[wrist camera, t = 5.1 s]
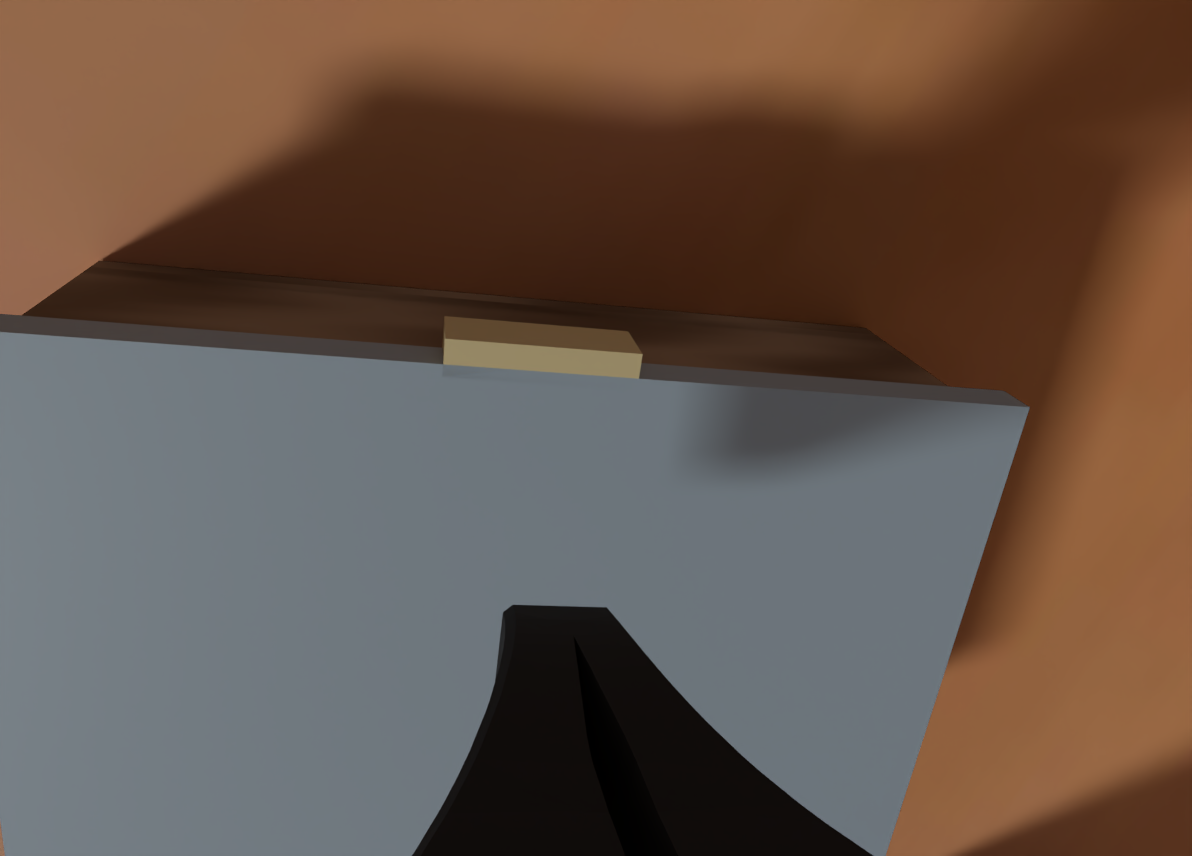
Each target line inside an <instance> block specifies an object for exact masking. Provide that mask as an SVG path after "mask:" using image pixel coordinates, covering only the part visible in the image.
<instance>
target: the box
mask: <svg viewBox="0 0 1192 856" xmlns="http://www.w3.org/2000/svg"><path fill="white" fill-rule="evenodd" d="M21 316H34V317H47V318H60V319H73V320H86V321H99V322H112V323H125V324H138V325H151V326H164V327H177V328H190V329H203V330H217V331H230V332H243V333H256V334H269V335H282V336H295V337H308V338H321V339H334V340H347V341H360V342H373V343H386V344H399V345H412V346H425V347H439V348H442V343H443V329H444V316H449V317H461V318H473V319H485V320H497V321H509V322H521V323H533V324H546V325H558V326H570V327H582V328H594V329H606V330H618V331H628V332H629V333H630V335H631V337H632V338H633V340H634V341H635V343H636V344H637V346H638V348H639V349H640V351H641V352H642V354H643V355H642V362H641V363H647V364H661V365H674V366H687V367H700V368H713V369H726V370H739V371H752V372H765V373H778V374H791V375H804V376H817V377H830V378H843V379H856V380H869V381H883V382H896V383H909V384H922V385H935V386H947V385H945V384H944V383H942V382H941V381H940V380H938V379H937V378H935V377H934V376H933V375H931V374H930V373H928V372H927V371H926V370H924V369H923V368H921V367H920V366H918V365H917V364H916V363H914V362H913V361H911V360H910V359H909V358H907V357H906V356H904V355H903V354H902V353H900V352H899V351H897V350H896V349H895V348H893V347H892V346H890V345H889V344H887V343H886V342H885V341H883V340H882V339H880V338H879V337H878V336H876V335H875V334H873V333H872V332H871V331H869V330H868V329H866V328H858V327H847V326H836V325H824V324H813V323H802V322H790V321H779V320H768V319H756V318H745V317H734V316H722V315H711V314H699V313H688V312H677V311H665V310H654V309H643V308H631V307H620V306H609V305H597V304H586V303H575V302H563V301H552V300H541V299H529V298H518V297H506V296H495V295H484V294H472V293H461V292H450V291H438V290H427V289H416V288H404V287H393V286H382V285H370V284H359V283H347V282H336V281H325V280H313V279H302V278H291V277H279V276H268V275H257V274H245V273H234V272H223V271H211V270H200V269H188V268H177V267H166V266H154V265H143V264H132V263H120V262H109V261H98V262H97V263H95V264H94V265H93V266H91V267H90V268H88V269H87V270H85V271H84V272H83V273H81V274H80V275H78V276H77V277H75V278H74V279H73V280H71V281H70V282H68V283H67V284H66V285H64V286H63V287H61V288H60V289H58V290H57V291H56V292H54V293H53V294H51V295H50V296H48V297H47V298H46V299H44V300H43V301H41V302H40V303H39V304H37V305H36V306H34V307H33V308H31V309H30V310H29V311H27V312H26V313H24V314H23V315H21Z"/></svg>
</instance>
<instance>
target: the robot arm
mask: <svg viewBox="0 0 1192 856" xmlns="http://www.w3.org/2000/svg"><path fill="white" fill-rule="evenodd" d="M412 856H873V855H872V854H870V853H869V852H867V851H866V850H864V849H863V848H862V847H860V846H859V845H857V844H856V843H854V842H853V841H851V840H850V839H848V838H847V837H845V836H844V835H843V834H841V833H840V832H838V831H837V830H835V829H834V828H832V827H831V826H829V825H828V824H826V823H825V822H824V821H822V820H821V819H820V818H818V817H817V816H816V815H814V814H813V813H812V812H810V811H809V810H808V809H806V808H805V807H804V806H802V805H801V804H800V803H798V802H797V801H796V800H795V799H793V798H792V797H791V796H790V795H789V794H787V793H786V792H785V791H784V790H782V789H781V788H780V787H779V786H777V785H776V784H775V783H774V782H773V781H771V780H770V779H769V778H768V777H766V776H765V775H764V774H763V773H761V772H760V771H759V770H758V769H757V768H756V767H755V766H753V765H752V764H751V763H750V762H749V761H748V760H747V759H745V758H744V757H743V756H742V755H741V754H740V753H739V752H738V751H737V750H736V749H735V748H734V747H733V746H732V745H731V744H729V743H728V742H727V741H726V740H725V739H724V738H723V737H722V736H721V735H720V734H719V733H718V732H717V731H716V730H715V729H714V728H713V727H712V726H711V725H710V724H709V723H708V722H707V721H706V720H705V719H704V718H703V717H702V716H701V715H700V714H699V713H698V712H697V711H696V710H695V709H694V708H693V707H692V706H691V705H690V704H689V703H688V701H687V700H686V699H685V698H684V697H683V696H682V695H681V694H680V693H679V692H678V690H677V689H676V688H675V687H674V686H673V685H672V684H671V683H670V682H669V681H668V679H667V678H666V677H665V676H664V675H663V674H662V673H661V671H660V670H659V669H658V668H657V667H656V666H655V664H654V663H653V662H652V661H651V660H650V658H649V657H648V656H647V655H646V654H645V652H644V651H643V650H642V649H641V648H640V646H639V645H638V644H637V643H636V642H635V640H634V639H633V638H632V637H631V636H630V634H629V633H628V632H627V631H626V630H625V628H624V627H623V626H622V625H621V624H620V622H619V621H618V620H617V619H616V618H615V616H614V615H613V614H612V613H611V612H610V611H609V609H608V608H607V607H577V606H542V605H512V606H510V607H509V608H508V609H506V610H505V611H504V612H503V616H502V625H501V633H500V642H499V651H498V660H497V669H496V678H495V684H494V687H493V691H492V694H491V697H490V701H489V704H488V706H487V709H486V712H485V714H484V717H483V719H482V722H481V724H480V727H479V729H478V732H477V734H476V737H475V739H474V742H473V744H472V746H471V749H470V751H469V753H468V756H467V758H466V760H465V762H464V764H463V766H462V768H461V770H460V773H459V775H458V777H457V779H456V781H455V783H454V784H453V786H452V788H451V790H450V792H449V794H448V796H447V798H446V799H445V801H444V803H443V805H442V807H441V809H440V810H439V812H438V814H437V815H436V817H435V819H434V820H433V822H432V824H431V825H430V827H429V829H428V830H427V832H426V834H425V835H424V837H423V839H422V840H421V842H420V844H419V845H418V847H417V848H416V850H415V852H414V853H413V855H412Z"/></svg>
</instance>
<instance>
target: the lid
mask: <svg viewBox="0 0 1192 856" xmlns="http://www.w3.org/2000/svg"><path fill="white" fill-rule="evenodd" d="M642 355H643V354H642V352H641V351H640V349H639V348H638V346H637V344H636V343H635V341H634V340H633V338H632V337H631V335H630V333H629V332H628V331H618V330H606V329H594V328H582V327H570V326H558V325H546V324H533V323H521V322H509V321H497V320H485V319H473V318H461V317H449V316H444V329H443V343H442V348H439V347H425V346H412V345H399V344H386V343H373V342H360V341H347V340H334V339H321V338H308V337H295V336H282V335H269V334H256V333H243V332H230V331H217V330H203V329H190V328H177V327H164V326H151V325H138V324H125V323H112V322H99V321H86V320H73V319H60V318H47V317H34V316H21V315H8V314H0V821H1V829H2V836H3V844H4V851H5V856H412V855H413V853H414V852H415V850H416V848H417V847H418V845H419V844H420V842H421V840H422V839H423V837H424V835H425V834H426V832H427V830H428V829H429V827H430V825H431V824H432V822H433V820H434V819H435V817H436V815H437V814H438V812H439V810H440V809H441V807H442V805H443V803H444V801H445V799H446V798H447V796H448V794H449V792H450V790H451V788H452V786H453V784H454V783H455V781H456V779H457V777H458V775H459V773H460V770H461V768H462V766H463V764H464V762H465V760H466V758H467V756H468V753H469V751H470V749H471V746H472V744H473V742H474V739H475V737H476V734H477V732H478V729H479V727H480V724H481V722H482V719H483V717H484V714H485V712H486V709H487V706H488V704H489V701H490V697H491V694H492V691H493V687H494V684H495V678H496V669H497V660H498V651H499V642H500V633H501V625H502V616H503V612H504V611H505V610H506V609H508V608H509V607H510V606H512V605H542V606H577V607H607V608H608V609H609V611H610V612H611V613H612V614H613V615H614V616H615V618H616V619H617V620H618V621H619V622H620V624H621V625H622V626H623V627H624V628H625V630H626V631H627V632H628V633H629V634H630V636H631V637H632V638H633V639H634V640H635V642H636V643H637V644H638V645H639V646H640V648H641V649H642V650H643V651H644V652H645V654H646V655H647V656H648V657H649V658H650V660H651V661H652V662H653V663H654V664H655V666H656V667H657V668H658V669H659V670H660V671H661V673H662V674H663V675H664V676H665V677H666V678H667V679H668V681H669V682H670V683H671V684H672V685H673V686H674V687H675V688H676V689H677V690H678V692H679V693H680V694H681V695H682V696H683V697H684V698H685V699H686V700H687V701H688V703H689V704H690V705H691V706H692V707H693V708H694V709H695V710H696V711H697V712H698V713H699V714H700V715H701V716H702V717H703V718H704V719H705V720H706V721H707V722H708V723H709V724H710V725H711V726H712V727H713V728H714V729H715V730H716V731H717V732H718V733H719V734H720V735H721V736H722V737H723V738H724V739H725V740H726V741H727V742H728V743H729V744H731V745H732V746H733V747H734V748H735V749H736V750H737V751H738V752H739V753H740V754H741V755H742V756H743V757H744V758H745V759H747V760H748V761H749V762H750V763H751V764H752V765H753V766H755V767H756V768H757V769H758V770H759V771H760V772H761V773H763V774H764V775H765V776H766V777H768V778H769V779H770V780H771V781H773V782H774V783H775V784H776V785H777V786H779V787H780V788H781V789H782V790H784V791H785V792H786V793H787V794H789V795H790V796H791V797H792V798H793V799H795V800H796V801H797V802H798V803H800V804H801V805H802V806H804V807H805V808H806V809H808V810H809V811H810V812H812V813H813V814H814V815H816V816H817V817H818V818H820V819H821V820H822V821H824V822H825V823H826V824H828V825H829V826H831V827H832V828H834V829H835V830H837V831H838V832H840V833H841V834H843V835H844V836H845V837H847V838H848V839H850V840H851V841H853V842H854V843H856V844H857V845H859V846H860V847H862V848H863V849H864V850H866V851H867V852H869V853H870V854H872V855H873V856H886V852H887V849H888V846H889V843H890V840H891V837H892V834H893V831H894V828H895V825H896V821H897V818H898V815H899V812H900V809H901V806H902V803H903V800H904V797H905V793H906V790H907V787H908V784H909V781H910V778H911V775H912V772H913V769H914V766H915V762H916V759H917V756H918V753H919V750H920V747H921V744H922V741H923V738H924V734H925V731H926V728H927V725H928V722H929V719H930V716H931V713H932V710H933V706H934V703H935V700H936V697H937V694H938V691H939V688H940V685H941V682H942V679H943V675H944V672H945V669H946V666H947V663H948V660H949V657H950V654H951V651H952V647H953V644H954V641H955V638H956V635H957V632H958V629H959V626H960V623H961V620H962V616H963V613H964V610H965V607H966V604H967V601H968V598H969V595H970V592H971V588H972V585H973V582H974V579H975V576H976V573H977V570H978V567H979V564H980V561H981V557H982V554H983V551H984V548H985V545H986V542H987V539H988V536H989V533H990V529H991V526H992V523H993V520H994V517H995V514H996V511H997V508H998V505H999V501H1000V498H1001V495H1002V492H1003V489H1004V486H1005V483H1006V480H1007V477H1008V474H1009V470H1010V467H1011V464H1012V461H1013V458H1014V455H1015V452H1016V449H1017V446H1018V442H1019V439H1020V436H1021V433H1022V430H1023V427H1024V424H1025V421H1026V418H1027V415H1028V411H1029V408H1030V407H1028V406H1027V405H1025V404H1024V403H1022V402H1021V401H1019V400H1018V399H1016V398H1014V397H1013V396H1011V395H1010V394H1008V393H1007V392H1005V391H1000V390H987V389H974V388H961V387H948V386H935V385H922V384H909V383H896V382H883V381H869V380H856V379H843V378H830V377H817V376H804V375H791V374H778V373H765V372H752V371H739V370H726V369H713V368H700V367H687V366H674V365H661V364H647V363H641V362H642Z"/></svg>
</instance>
